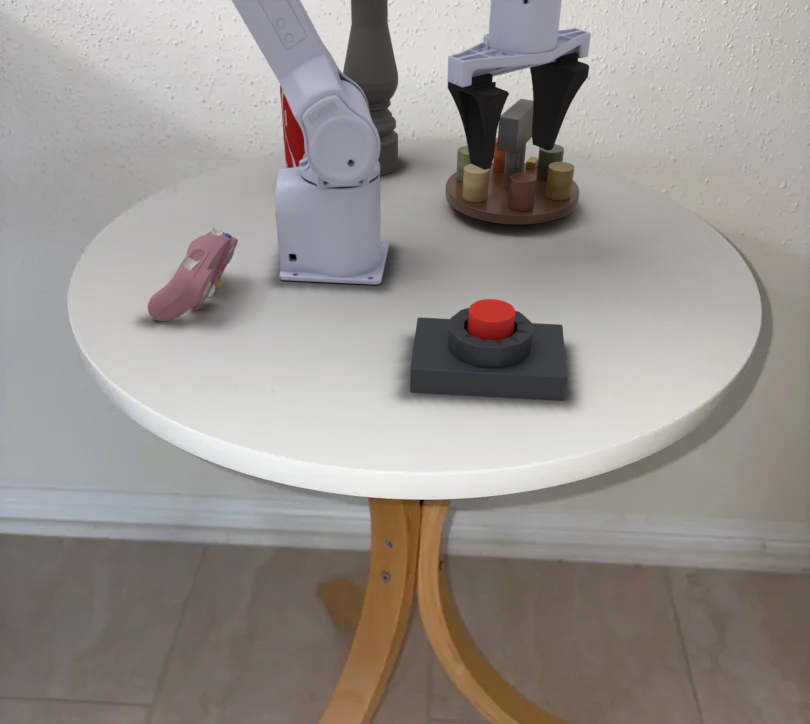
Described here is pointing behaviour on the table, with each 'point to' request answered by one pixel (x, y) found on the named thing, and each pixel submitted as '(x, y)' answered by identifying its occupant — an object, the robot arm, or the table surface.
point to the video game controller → (194, 276)
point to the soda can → (291, 135)
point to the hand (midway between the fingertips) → (512, 156)
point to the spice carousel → (514, 177)
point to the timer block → (488, 360)
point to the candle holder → (375, 72)
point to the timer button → (491, 319)
